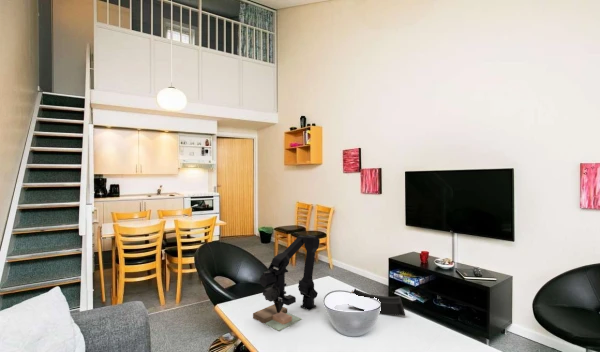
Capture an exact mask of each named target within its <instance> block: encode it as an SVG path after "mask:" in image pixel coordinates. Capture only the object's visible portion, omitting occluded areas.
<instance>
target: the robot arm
mask: <svg viewBox="0 0 600 352" xmlns="http://www.w3.org/2000/svg"><path fill="white" fill-rule="evenodd" d="M295 238H296V239H295V240H293V241H292V243H291V244H290V245H289V246H288V247H287V248H286V249H285V250H284V251H282V252H279V253H277V255H274V256H273V258H272V260H271V262H270V264H269V266H268V268H267V271H263V272H262V275H261V276H260V278H259V283H260V285H261V286H262V287H263V288H265V289H263V291H262V296H263V297H264V299H265V301H268V302H270V303H271V302H273V303H274V304H275V307H276V310H277V313H280V311H281V309H282V307H284V305H286V306H290V305H292V304H294V303H296V301H297V298H296V296H295V295H292V294H288V295H286V294H287V291H286V289H285V287H286V286H287V283H286V273H288V272H289V270H288V269H287V267H288V265H290V261H291V259H292V258H293V256H294V255H296V253H297V252H299V250H300V249H301V247H303V246H304V248H305V251H306V252H305V260H304V267H303V268H304V269H303V276H302V278H301V279H299V281H298V286H297V288H298V291H299V293H300V294H299V295H301V296H302V304H301V305H300V307H301V308H303V309H306V310H308V311H310V310H312V309H314V308H316V307H317V305H316V304H315V299H316V298H317V297H318V291H316V289H315V283H314V280H313V275H314V266H315V257H316V252H317V251H318V249H319V247H320V243H321V240H320V238H319V237H318V236H315V235H312V234H311V235H310V234H308V235H306V236H305V235H298V236H296V237H295ZM269 286H270V287H269ZM266 287H267V288H266ZM274 304H273V305H274Z"/></svg>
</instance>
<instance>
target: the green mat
mask: <svg viewBox="0 0 600 352" xmlns="http://www.w3.org/2000/svg"><path fill="white" fill-rule="evenodd" d="M286 314H288V315H290V316H292V321H290V322H288V323H286V324H284V325H283V324H281V323H279V322H277V321H275V320H271V321H269V322H267V323H265V324H264V325H266V326H267V327H270V328H272V329H274V330H276V331H278V332H281V331H282V330H284V329H286V328H288V327H290V326H292V325H295V323H297V322H299V321H301V320H302V318H301V317H299V316H297V315H295V314H293V313H290V312H287V313H286Z"/></svg>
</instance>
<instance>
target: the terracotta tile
mask: <svg viewBox="0 0 600 352" xmlns="http://www.w3.org/2000/svg"><path fill="white" fill-rule="evenodd" d="M272 319H273V320H275V321H277V322H279V323H281V324H283V325H284V324H286V323H288V322H290V321H292V316H290V315H288V314H285V313H283V312H280V313H277V314H274V315H272Z"/></svg>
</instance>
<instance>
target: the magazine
mask: <svg viewBox="0 0 600 352" xmlns="http://www.w3.org/2000/svg"><path fill="white" fill-rule="evenodd" d="M351 293H355V294H356V295H358V296H364V297H370V298H374V297H375V298H377V300H378V299H379V301H380V302H381V311H380V314H379V315H384V316H385V315H386V316H406V312H405V309H404V305H403V301H402V299H401V296H400V295H399V296H385V295H376V294H372V293H371V294H370V293H368V292H367V293H366V292H364V291H362V290H357V289H356V288H354V289H353V290H351V292H350V294H351Z"/></svg>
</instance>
